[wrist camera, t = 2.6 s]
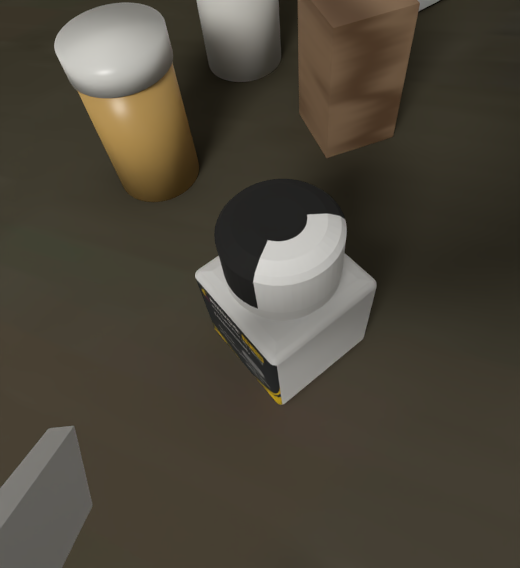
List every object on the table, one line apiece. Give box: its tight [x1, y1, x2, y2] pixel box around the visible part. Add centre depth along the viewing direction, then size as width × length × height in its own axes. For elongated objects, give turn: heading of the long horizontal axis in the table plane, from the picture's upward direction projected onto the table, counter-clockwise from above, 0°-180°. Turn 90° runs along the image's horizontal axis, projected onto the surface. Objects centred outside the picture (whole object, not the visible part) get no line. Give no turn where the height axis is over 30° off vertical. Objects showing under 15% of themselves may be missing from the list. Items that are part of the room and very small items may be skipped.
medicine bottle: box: [195, 179, 377, 404], centre depth 26 cm, size 7×7×12 cm
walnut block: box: [298, 0, 420, 158], centre depth 36 cm, size 6×6×11 cm
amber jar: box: [54, 3, 199, 202], centre depth 35 cm, size 7×7×12 cm
